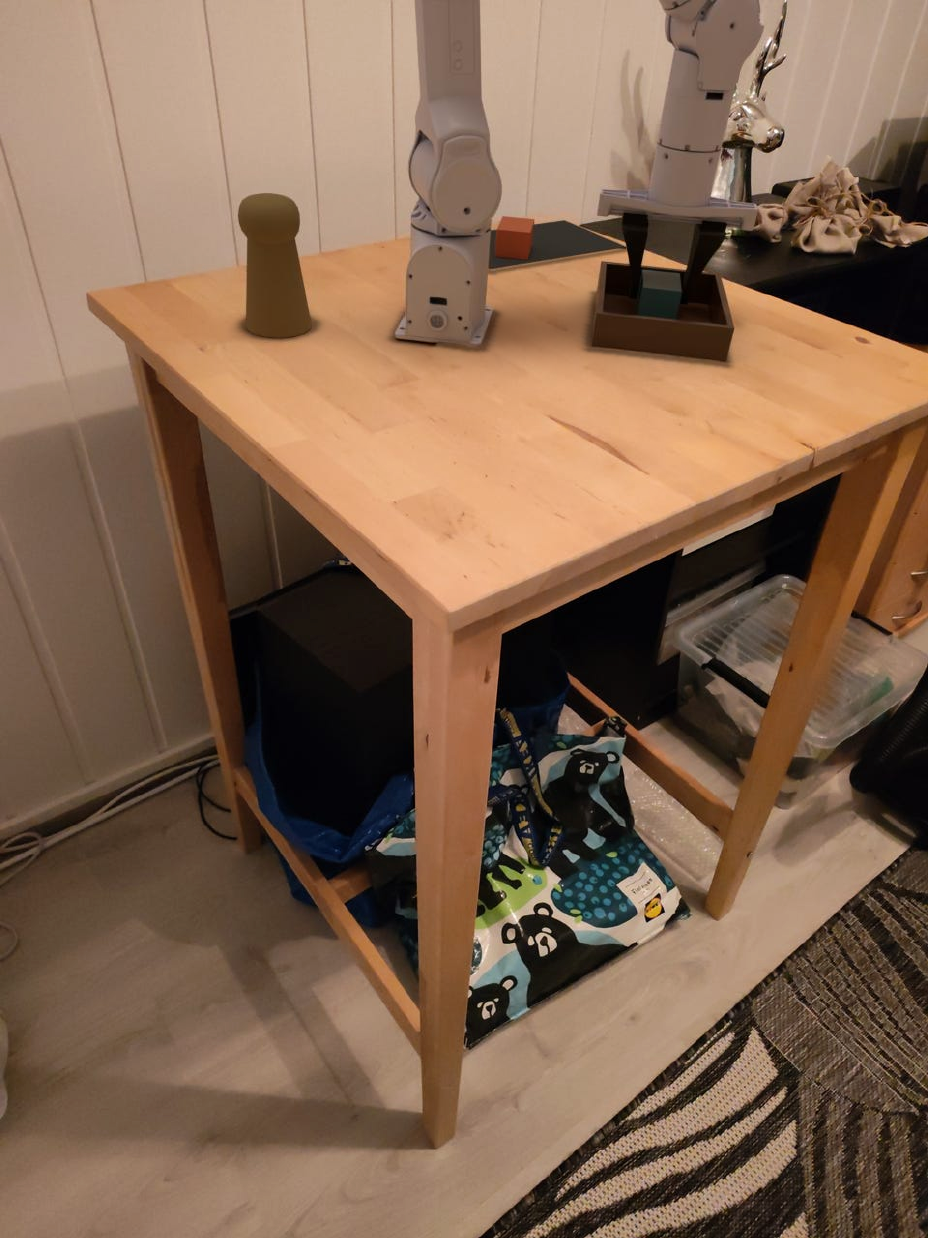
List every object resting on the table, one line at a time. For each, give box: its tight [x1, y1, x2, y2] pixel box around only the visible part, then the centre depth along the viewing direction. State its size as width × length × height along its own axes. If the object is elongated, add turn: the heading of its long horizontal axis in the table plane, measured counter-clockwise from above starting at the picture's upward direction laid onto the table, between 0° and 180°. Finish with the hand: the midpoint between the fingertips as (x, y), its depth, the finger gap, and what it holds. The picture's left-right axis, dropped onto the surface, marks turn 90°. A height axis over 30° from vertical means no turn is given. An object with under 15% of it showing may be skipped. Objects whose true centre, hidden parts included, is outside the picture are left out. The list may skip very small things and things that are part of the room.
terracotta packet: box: [495, 215, 535, 260], centre depth 96 cm, size 6×4×3 cm
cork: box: [237, 192, 313, 339], centre depth 74 cm, size 6×6×11 cm
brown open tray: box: [590, 260, 735, 362], centre depth 81 cm, size 15×12×3 cm
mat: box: [488, 219, 627, 270], centre depth 100 cm, size 12×20×1 cm, turn 123°
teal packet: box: [637, 270, 682, 320], centre depth 83 cm, size 6×4×3 cm
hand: (658, 298), depth 84 cm, fingers open, 4 cm apart
